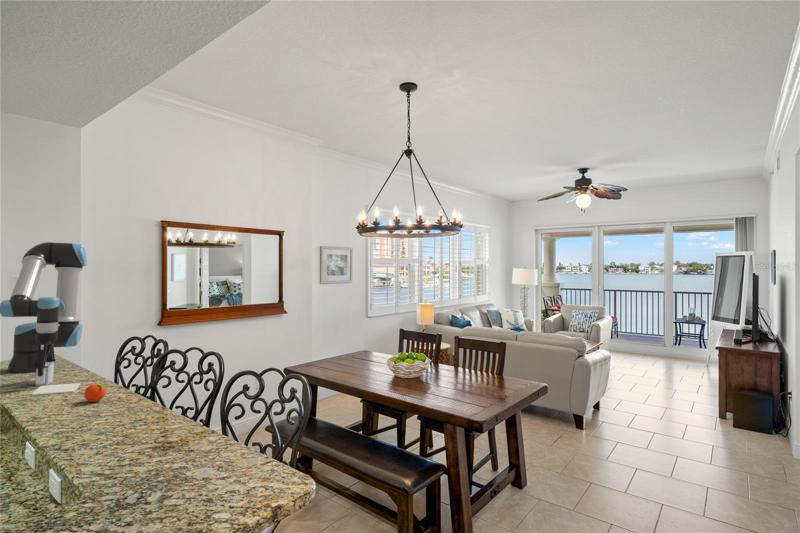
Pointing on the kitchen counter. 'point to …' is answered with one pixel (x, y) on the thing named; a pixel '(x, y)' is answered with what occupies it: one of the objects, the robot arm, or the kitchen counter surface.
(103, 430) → the kitchen counter surface
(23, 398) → the kitchen counter surface
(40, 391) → the mat
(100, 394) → the clementine
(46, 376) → the medicine box
